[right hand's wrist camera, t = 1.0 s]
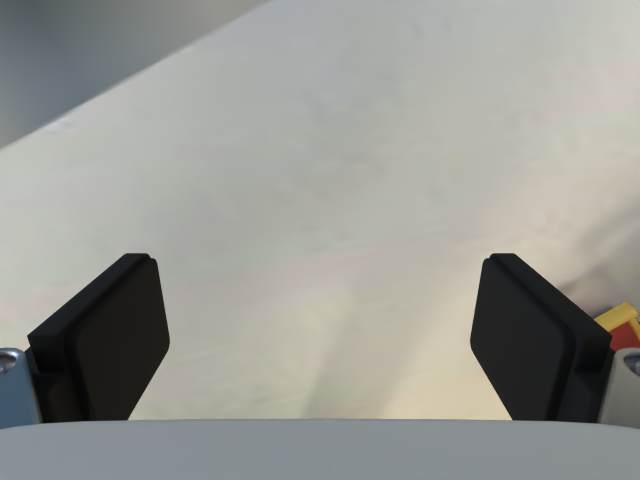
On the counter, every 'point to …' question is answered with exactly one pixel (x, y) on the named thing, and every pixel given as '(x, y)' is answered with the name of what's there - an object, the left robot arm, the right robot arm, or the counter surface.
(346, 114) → the counter surface
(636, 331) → the drawer
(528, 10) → the counter surface
